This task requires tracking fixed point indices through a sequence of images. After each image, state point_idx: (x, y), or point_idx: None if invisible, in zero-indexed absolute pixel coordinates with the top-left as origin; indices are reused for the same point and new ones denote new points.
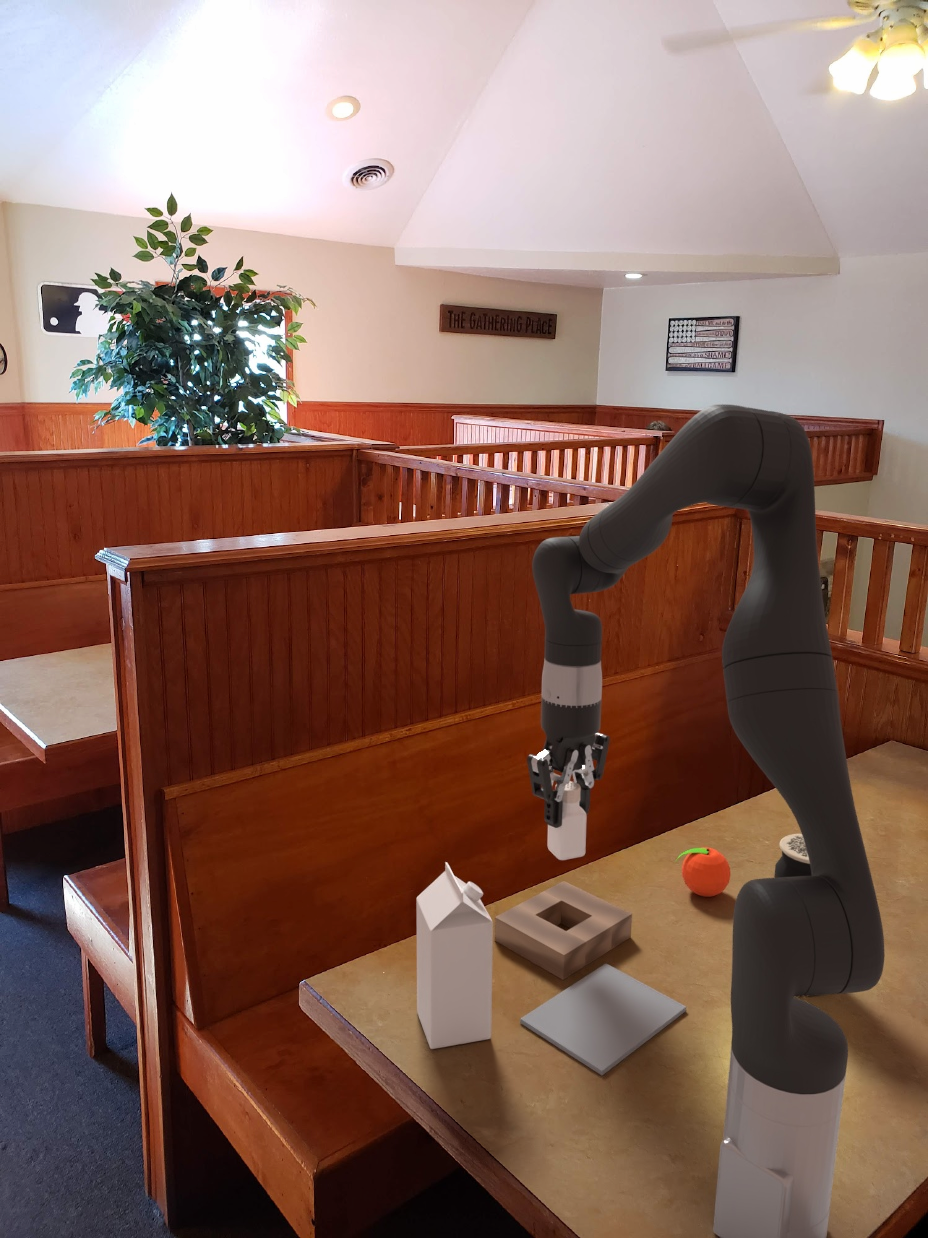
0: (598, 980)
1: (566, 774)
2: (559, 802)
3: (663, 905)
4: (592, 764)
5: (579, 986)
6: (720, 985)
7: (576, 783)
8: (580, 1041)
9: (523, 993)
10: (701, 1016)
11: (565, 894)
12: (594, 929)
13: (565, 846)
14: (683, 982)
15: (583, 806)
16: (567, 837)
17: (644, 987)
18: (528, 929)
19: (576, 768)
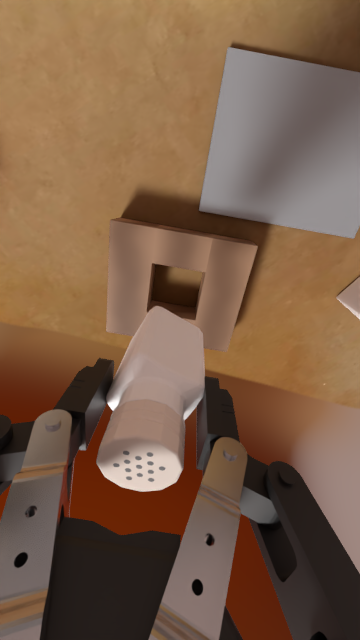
0: (238, 199)
1: (223, 552)
2: (223, 434)
3: (26, 218)
4: (6, 514)
5: (262, 213)
6: (135, 32)
7: (101, 456)
8: None
9: (295, 264)
10: (225, 19)
11: (131, 315)
12: (179, 244)
13: (196, 339)
14: (164, 95)
15: (105, 379)
16: (193, 347)
17: (219, 134)
18: (228, 310)
19: (107, 539)
